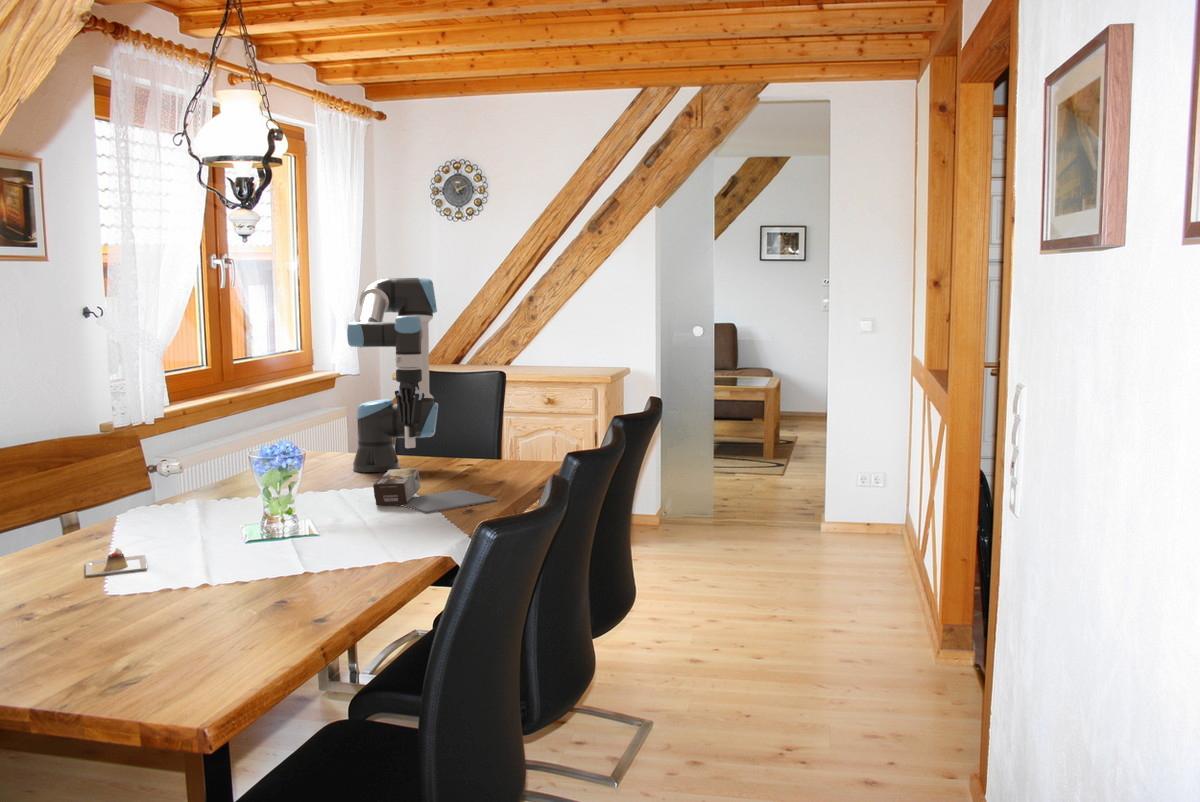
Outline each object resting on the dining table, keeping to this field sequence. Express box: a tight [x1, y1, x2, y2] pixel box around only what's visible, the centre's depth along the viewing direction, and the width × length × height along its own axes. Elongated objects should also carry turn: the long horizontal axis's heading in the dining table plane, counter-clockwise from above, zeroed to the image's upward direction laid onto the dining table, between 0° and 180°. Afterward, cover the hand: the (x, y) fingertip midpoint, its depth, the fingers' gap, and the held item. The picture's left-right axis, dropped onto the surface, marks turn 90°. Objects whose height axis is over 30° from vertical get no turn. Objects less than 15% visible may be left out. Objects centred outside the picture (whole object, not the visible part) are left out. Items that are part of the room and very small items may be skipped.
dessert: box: [84, 547, 149, 577], centre depth 216 cm, size 12×12×5 cm
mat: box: [399, 489, 498, 514], centre depth 283 cm, size 18×24×1 cm
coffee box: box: [372, 467, 422, 506], centre depth 284 cm, size 9×6×16 cm
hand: (410, 447), depth 294 cm, fingers closed
